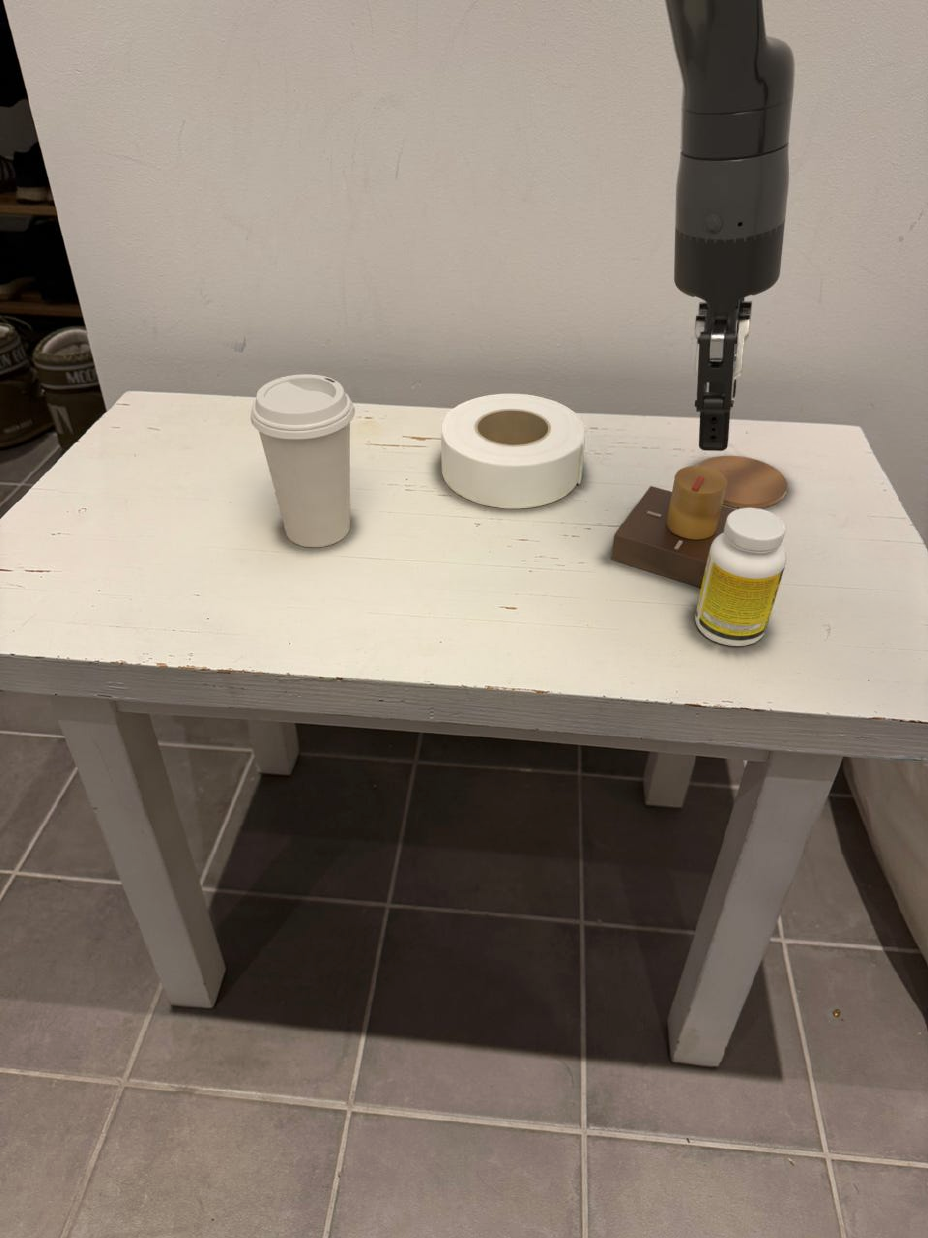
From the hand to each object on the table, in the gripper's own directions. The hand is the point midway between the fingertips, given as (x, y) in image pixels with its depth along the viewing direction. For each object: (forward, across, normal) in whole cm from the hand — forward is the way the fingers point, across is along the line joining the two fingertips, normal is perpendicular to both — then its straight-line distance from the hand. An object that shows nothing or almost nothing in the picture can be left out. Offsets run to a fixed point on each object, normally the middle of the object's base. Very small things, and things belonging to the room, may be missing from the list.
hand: (717, 422), depth 72 cm
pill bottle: (+17, -6, -2) cm, 18 cm away
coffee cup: (+12, -3, +39) cm, 40 cm away
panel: (+16, +4, +2) cm, 17 cm away
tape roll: (+14, +14, +23) cm, 30 cm away
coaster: (+18, +18, -2) cm, 25 cm away
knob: (+13, +4, +2) cm, 14 cm away
